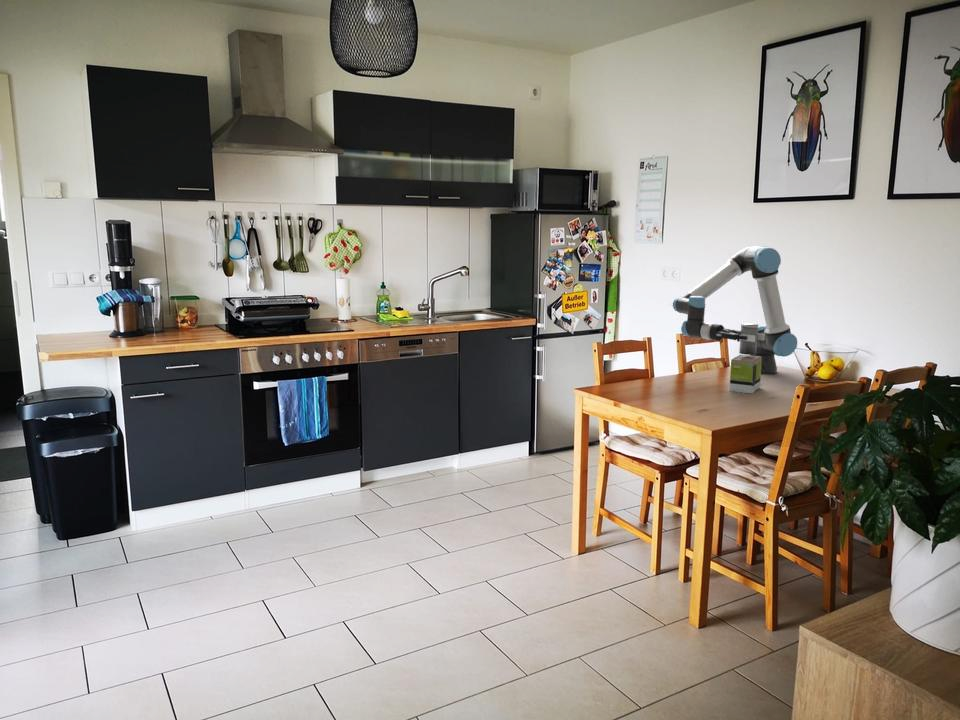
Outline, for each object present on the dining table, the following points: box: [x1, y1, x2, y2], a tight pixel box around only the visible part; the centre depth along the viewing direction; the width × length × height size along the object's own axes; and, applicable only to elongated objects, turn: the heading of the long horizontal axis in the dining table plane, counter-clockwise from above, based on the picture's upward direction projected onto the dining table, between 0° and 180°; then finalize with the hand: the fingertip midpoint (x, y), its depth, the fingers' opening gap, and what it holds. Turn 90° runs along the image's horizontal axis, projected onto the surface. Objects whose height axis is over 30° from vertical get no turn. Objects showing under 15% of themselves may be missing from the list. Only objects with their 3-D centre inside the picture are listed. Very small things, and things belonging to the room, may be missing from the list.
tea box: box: [729, 354, 762, 394], centre depth 321 cm, size 15×10×15 cm, turn 146°
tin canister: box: [738, 322, 759, 355], centre depth 318 cm, size 7×7×13 cm
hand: (759, 338), depth 314 cm, fingers closed on tin canister, 7 cm apart
